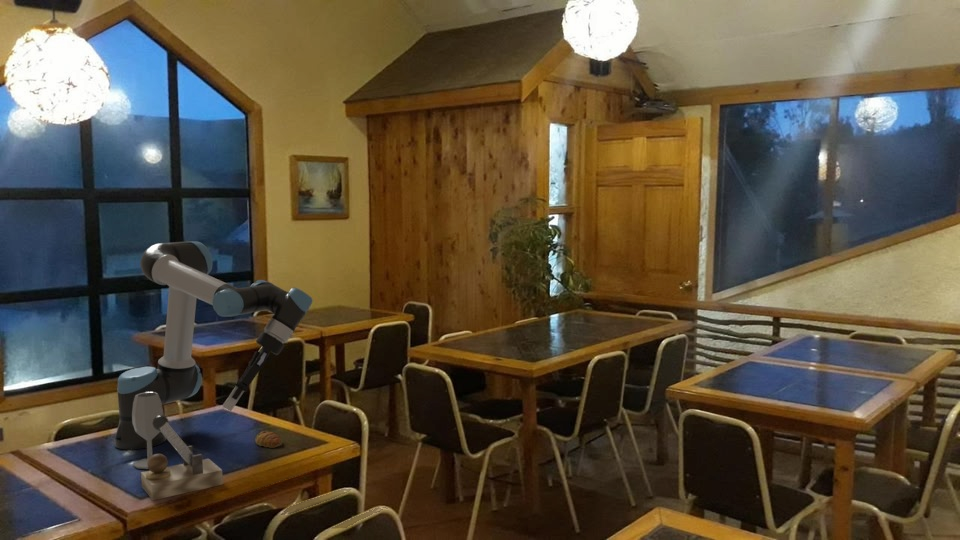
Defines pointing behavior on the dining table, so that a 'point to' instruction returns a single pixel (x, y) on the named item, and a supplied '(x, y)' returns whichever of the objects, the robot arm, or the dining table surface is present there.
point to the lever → (172, 437)
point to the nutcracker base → (179, 476)
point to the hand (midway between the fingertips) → (226, 408)
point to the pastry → (268, 439)
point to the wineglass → (146, 420)
